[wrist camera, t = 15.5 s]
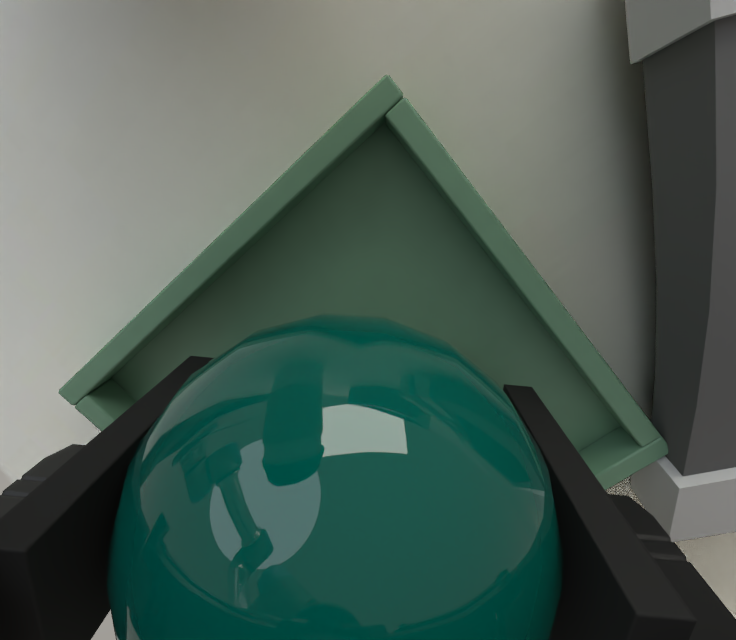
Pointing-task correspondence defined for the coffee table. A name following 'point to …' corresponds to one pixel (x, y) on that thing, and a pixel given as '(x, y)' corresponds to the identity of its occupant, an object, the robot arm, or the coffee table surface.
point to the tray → (379, 284)
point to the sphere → (336, 497)
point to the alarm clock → (691, 258)
